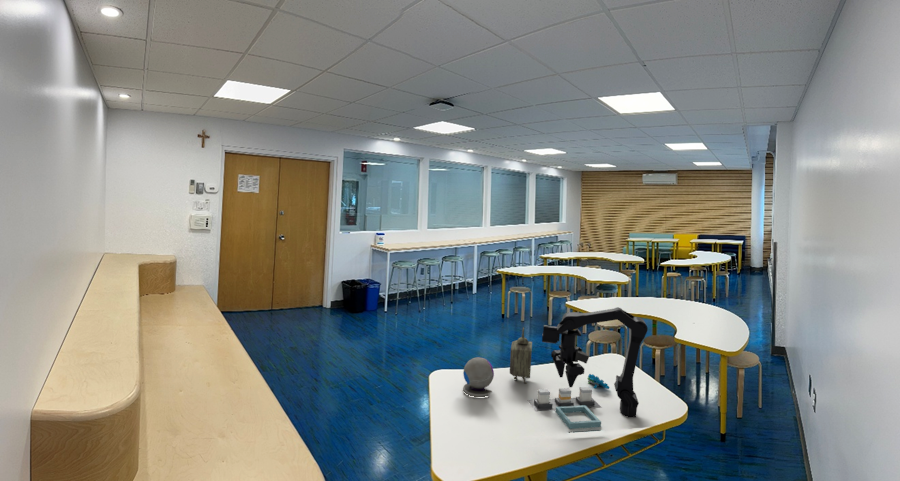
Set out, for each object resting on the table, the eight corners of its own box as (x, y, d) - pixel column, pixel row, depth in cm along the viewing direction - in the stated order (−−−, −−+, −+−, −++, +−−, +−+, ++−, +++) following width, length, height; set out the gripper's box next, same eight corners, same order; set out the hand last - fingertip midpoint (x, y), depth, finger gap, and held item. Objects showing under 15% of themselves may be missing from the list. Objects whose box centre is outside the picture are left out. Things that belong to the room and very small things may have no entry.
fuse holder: (601, 410, 177) (602, 403, 176) (535, 414, 172) (535, 407, 172) (590, 400, 186) (591, 393, 185) (527, 403, 181) (527, 396, 181)
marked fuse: (570, 405, 178) (571, 390, 177) (560, 405, 177) (561, 391, 176) (567, 401, 180) (568, 387, 180) (558, 402, 180) (558, 388, 179)
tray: (600, 430, 162) (601, 421, 162) (568, 432, 160) (569, 423, 160) (584, 413, 174) (585, 405, 174) (555, 415, 172) (555, 406, 172)
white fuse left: (549, 406, 176) (550, 391, 175) (539, 406, 175) (540, 392, 175) (546, 402, 179) (547, 388, 178) (537, 403, 178) (537, 389, 177)
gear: (614, 389, 192) (601, 376, 190) (607, 401, 191) (594, 387, 188) (596, 382, 202) (584, 369, 200) (589, 393, 201) (576, 380, 198)
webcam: (497, 396, 186) (499, 362, 185) (470, 400, 182) (471, 366, 180) (484, 383, 198) (485, 351, 197) (458, 387, 194) (459, 354, 192)
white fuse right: (591, 403, 179) (592, 389, 178) (581, 404, 178) (582, 390, 178) (588, 400, 182) (589, 386, 181) (578, 401, 181) (579, 387, 180)
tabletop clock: (529, 388, 195) (532, 333, 192) (508, 386, 196) (511, 331, 194) (530, 375, 209) (533, 324, 206) (511, 373, 211) (513, 322, 208)
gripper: (598, 352, 168) (595, 391, 170) (576, 336, 186) (574, 371, 188) (571, 353, 166) (568, 393, 168) (551, 337, 184) (549, 372, 186)
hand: (565, 382), depth 178 cm, fingers open, 9 cm apart
